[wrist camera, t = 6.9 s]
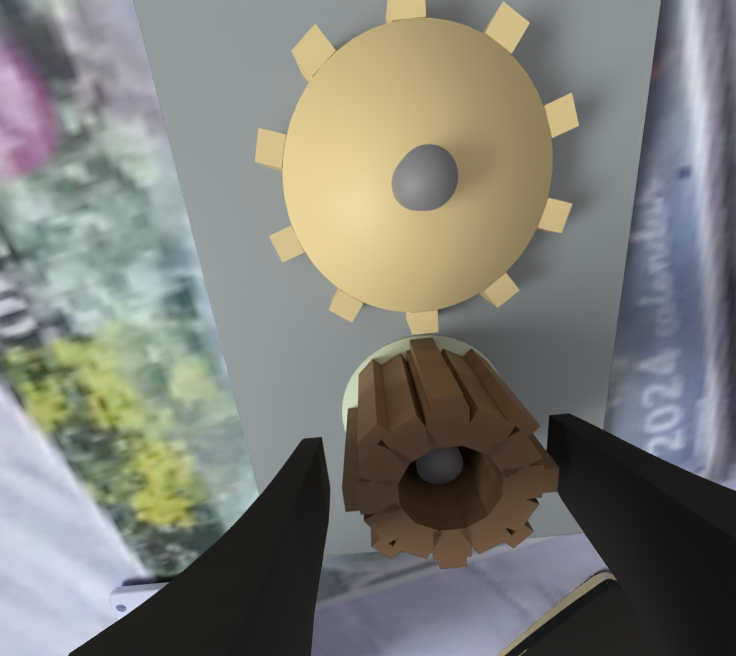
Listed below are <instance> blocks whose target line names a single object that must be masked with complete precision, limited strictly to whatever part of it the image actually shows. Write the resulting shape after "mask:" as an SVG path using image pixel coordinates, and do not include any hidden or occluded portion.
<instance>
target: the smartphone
mask: <svg viewBox="0 0 736 656" xmlns="http://www.w3.org/2000/svg"><path fill="white" fill-rule="evenodd" d="M497 656H660V655H659V653H658V651H657V649H656V647H655V645H654V644H653V642H652V640H651V638H650V636H649V634H648V633H647V631H646V629H645V627H644V626H643V624H642V622H641V621H640V619H639V617H638V615H637V614H636V612H635V610H634V608H633V607H632V605H631V603H630V601H629V600H628V598H627V596H626V594H625V593H624V591H623V589H622V588H621V586H620V585H619V583H618V582H617V580H616V579H615V577H614V575H613V574H612V573H608V572H602V573H599V574H597V575H595V576H593V577H592V578H590V579H589V580H587V581H586V582H585V583H583V584H582V585H581V586H579V587H578V588H576V589H575V590H574V591H573V592H571V593H570V594H569V595H568V596H566V597H565V598H564V599H563V600H562V601H561V602H559V603H558V604H557V605H556V606H555V607H554V608H552V609H551V610H550V611H549V612H548V613H546V614H545V615H544V616H543V617H542V618H541V619H539V620H538V621H537V622H536V623H535V624H533V625H532V626H531V627H530V628H529V629H528V630H526V631H525V632H524V633H523V634H522V635H520V636H519V637H518V638H517V639H516V640H515V641H513V642H512V643H511V644H510V645H509V646H508V647H506V648H505V649H504V650H503V651H502V652H500V653H499V654H498V655H497Z"/></svg>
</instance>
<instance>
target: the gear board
mask: <svg viewBox="0 0 736 656" xmlns="http://www.w3.org/2000/svg"><path fill="white" fill-rule="evenodd" d="M133 2H134V6H135V10H136V14H137V18H138V21H139V25H140V29H141V33H142V37H143V41H144V45H145V49H146V53H147V57H148V61H149V65H150V68H151V72H152V76H153V80H154V84H155V88H156V92H157V96H158V100H159V104H160V108H161V112H162V116H163V119H164V123H165V127H166V131H167V135H168V139H169V143H170V147H171V151H172V155H173V159H174V163H175V166H176V170H177V174H178V178H179V182H180V186H181V190H182V194H183V198H184V202H185V206H186V210H187V213H188V217H189V221H190V225H191V229H192V233H193V237H194V241H195V245H196V249H197V253H198V257H199V261H200V264H201V268H202V272H203V276H204V280H205V284H206V288H207V292H208V296H209V300H210V304H211V308H212V311H213V315H214V319H215V323H216V327H217V331H218V335H219V339H220V343H221V347H222V351H223V355H224V359H225V362H226V366H227V370H228V374H229V378H230V382H231V386H232V390H233V394H234V398H235V402H236V406H237V409H238V413H239V417H240V421H241V425H242V429H243V433H244V437H245V441H246V445H247V449H248V453H249V456H250V460H251V464H252V468H253V472H254V476H255V480H256V484H257V488H258V492H259V496H260V494H261V493H262V492H263V491H264V490H265V488H266V487H267V486H268V485H269V483H270V482H271V481H272V479H273V478H274V477H275V476H276V474H277V473H278V472H279V470H280V469H281V468H282V466H283V465H284V464H285V462H286V461H287V460H288V458H289V457H290V455H291V454H292V453H293V451H294V450H295V448H296V447H297V446H298V444H299V443H300V441H301V440H302V439H305V438H315V437H322V441H323V447H324V452H325V458H326V464H327V470H328V476H329V482H330V487H331V492H330V512H329V524H328V530H327V536H326V543H325V549H324V555H323V556H334V555H345V554H357V553H368V552H379V551H377V550H375V549H374V548H372V547H371V528H370V527H369V526H368V525H367V524H366V523H365V522H364V515H361V514H360V511H351V512H345V505H344V499H343V493H342V480H343V466H344V453H345V439H346V426H347V412H348V408H358V377H359V373H360V372H361V371H362V370H363V369H364V368H365V366H366V365H367V364H368V363H369V362H370V361H371V360H372V358H373V359H374V360H375V361H377V362H378V363H379V364H381V365H382V364H384V363H385V362H387V361H388V360H390V359H391V358H393V357H394V356H396V355H397V354H399V353H400V354H401V355H402V356H403V358H404V359H405V360H406V362H407V357H406V351H408V350H410V340H412V339H422V338H431V337H432V338H433V340H434V342H435V344H436V345H437V347H438V349H439V351H440V353H441V352H442V350H443V348H444V349H446V350H448V351H451V352H453V353H455V354H458V355H460V356H463V357H464V355H465V354H466V353H467V352H468V351H469V350H470V349H471V348H472V349H473V350H474V351H475V352H477V353H478V354H479V355H480V356H481V357H483V358H484V359H485V360H486V361H487V362H488V363H489V364H490V365H491V366H492V368H493V369H494V370H495V371H496V372H497V374H498V375H499V376H500V377H501V379H502V380H503V381H504V382H505V383H506V385H507V386H508V387H509V388H510V389H511V391H512V392H513V393H514V394H515V396H516V397H517V398H518V399H519V400H520V402H521V403H522V404H523V405H524V406H525V408H526V409H527V410H528V411H529V413H530V414H531V415H532V416H533V417H534V419H535V420H536V421H537V422H538V423H539V425H540V427H539V428H538V429H537V430H536V431H535V432H534V433H533V434H534V435H535V437H536V438H537V439H538V441H539V442H540V443H541V444H542V446H543V447H544V448H545V450H547V437H548V424H549V415H555V414H565V413H570V414H572V415H574V416H576V417H579V418H581V419H583V420H585V421H587V422H589V423H591V424H593V425H595V426H597V427H599V428H600V429H602V430H603V427H604V419H605V412H606V404H607V397H608V390H609V382H610V375H611V367H612V360H613V352H614V345H615V338H616V330H617V323H618V315H619V308H620V300H621V293H622V286H623V278H624V271H625V263H626V256H627V248H628V241H629V234H630V226H631V219H632V211H633V204H634V196H635V189H636V182H637V174H638V167H639V159H640V152H641V144H642V137H643V130H644V122H645V115H646V107H647V100H648V92H649V85H650V78H651V70H652V63H653V55H654V48H655V41H656V33H657V26H658V18H659V11H660V3H661V0H133ZM415 463H416V467H417V471H418V474H419V475H420V477H421V478H422V479H423V480H425V481H426V482H429V483H432V484H444V483H448V482H450V481H452V480H454V479H455V478H456V477H457V476H458V475H459V474H460V473H461V471H462V468H463V459H462V456H461V454H460V451H459V449H458V446H457V447H447V448H437V449H433V450H431V451H430V452H428V453H426V454H424V455H423V456H421V457H419V458H418V459H416V460H415ZM536 499H537V501H538V502H539V506H538V507H537V508H536V510H535V511H534V512H533V514H532V515H531V516H530V518H529V519H528V521H529V523H530V525H531V527H532V529H533V531H534V532H533V533H532V534H531V535H530V536H528V537H527V538H535V537H546V536H558V535H569V534H580V533H584V532H583V531H582V529H581V528H580V526H579V525H578V523H577V522H576V520H575V519H574V517H573V516H572V515H571V513H570V512H569V510H568V509H567V507H566V506H565V504H564V503H563V501H562V500H561V498H560V496H559V494H558V492H551V493H543V495H542V498H536Z"/></svg>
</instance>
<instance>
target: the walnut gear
mask: <svg viewBox="0 0 736 656" xmlns="http://www.w3.org/2000/svg"><path fill="white" fill-rule="evenodd" d="M406 357H407V362H406V360H405V359H404V358H403V356H402V355H401V354H400V353H399V354H397V355H396V356H394V357H393V358H391V359H390V360H388V361H387V362H385V363H384V364H382V365H381V364H379V363H378V362H377V361H375V360H374V359H373V358H372V360H371V361H370V362H369V363H368V364H367V365H366V366H365V368H364V369H363V370H362V371H361V372H360V373H359V377H358V408H348V412H347V426H346V439H345V453H344V466H343V480H342V493H343V499H344V505H345V512H351V511H360V514H361V515H364V522H365V523H366V524H367V525H368V526H369V527H370V528H371V547H372V548H374V549H375V550H377V551H379V552H381V553H382V554H384V555H386V556H387V557H389V558H391V559H394V558H395V557H396V556H397V555H398V554H399V553H400V552H401V551H403V552H406V553H409V554H412V555H415V556H419V557H422V558H425V559H427V558H428V556H429V555H430V553H431V552H432V551H433V556H434V560H438V563H439V567H440V569H447V568H458V567H467V557H470V556H472V546H473V547H474V548H475V550H476V551H477V552H478V553H479V554H481V553H483V552H485V551H487V550H488V549H490V548H492V547H494V546H496V545H498V544H500V543H502V542H505V543H506V544H508V545H509V546H511V547H512V548H515V547H516V546H517V545H518V544H520V543H521V542H522V541H523V540H525V539H526V538H527V537H528V536H530V535H531V534H532V533H533V532H534V531H533V529H532V527H531V525H530V523H529V521H528V519H529V518H530V516H531V515H532V514H533V512H534V511H535V510H536V508H537V507H538V506H539V502H538V501H537V499H536V498H542V495H543V493H551V492H557V491H558V479H559V467H558V465H557V464H556V463H555V462H554V460H553V459H552V458H551V456H550V455H549V454H548V452H547V451H546V450H545V448H544V447H543V446H542V444H541V443H540V442H539V441H538V439H537V438H536V437H535V435H534V434H533V433H534V432H535V431H536V430H537V429H538V428H539V427H540V425H539V423H538V422H537V421H536V420H535V419H534V417H533V416H532V415H531V414H530V413H529V411H528V410H527V409H526V408H525V406H524V405H523V404H522V403H521V402H520V400H519V399H518V398H517V397H516V396H515V394H514V393H513V392H512V391H511V389H510V388H509V387H508V386H507V385H506V383H505V382H504V381H503V380H502V379H501V377H500V376H499V375H498V374H497V372H496V371H495V370H494V369H493V368H492V366H491V365H490V364H489V363H488V362H487V361H486V360H485V359H484V358H483V357H481V356H480V355H479V354H478V353H477V352H475V351H474V350H473V349H472V348H471V349H470V350H469V351H468V352H467V353H466V354H465V355H464V357H463V356H460V355H458V354H455V353H453V352H451V351H448V350H446V349H444V348H443V350H442V352H441V353H440V351H439V349H438V347H437V345H436V344H435V342H434V340H433V338H432V337H431V338H422V339H412V340H410V350H408V351H406ZM457 446H458V449H459V451H460V454H461V456H462V459H463V468H462V471H461V473H460V474H459V475H458V476H457V477H456V478H455V479H454V480H452V481H450V482H448V483H444V484H432V483H429V482H426V481H425V480H423V479H422V478H421V477H420V475H419V474H418V471H417V467H416V463H415V460H416V459H418V458H419V457H421V456H423V455H424V454H426V453H428V452H430V451H431V450H433V449H437V448H447V447H457Z"/></svg>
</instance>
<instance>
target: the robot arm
mask: <svg viewBox="0 0 736 656" xmlns="http://www.w3.org/2000/svg"><path fill="white" fill-rule="evenodd" d="M546 451H547V452H548V454H549V455H550V456H551V458H552V459H553V460H554V462H555V463H556V464H557V465H558V467H559V479H558V491H557V492H558V494H559V496H560V498H561V500H562V501H563V503H564V504H565V506H566V507H567V509H568V510H569V512H570V513H571V515H572V516H573V517H574V519H575V520H576V522H577V523H578V525H579V526H580V528H581V529H582V531H583V532H584V533H585V535H586V536H587V538H588V539H589V541H590V542H591V544H592V545H593V546H594V548H595V549H596V551H597V552H598V554H599V555H600V557H601V558H602V559H603V561H604V562H605V564H606V565H607V567H608V568H609V570H610V571H611V572H612V574H613V575H614V577H615V579H616V580H617V582H618V583H619V585H620V586H621V588H622V589H623V591H624V593H625V594H626V596H627V598H628V600H629V601H630V603H631V605H632V607H633V608H634V610H635V612H636V614H637V615H638V617H639V619H640V621H641V622H642V624H643V626H644V627H645V629H646V631H647V633H648V634H649V636H650V638H651V640H652V642H653V644H654V645H655V647H656V649H657V651H658V653H659V655H660V656H736V491H734V490H732V489H729V488H727V487H724V486H722V485H719V484H717V483H714V482H712V481H709V480H707V479H705V478H702V477H700V476H698V475H695V474H693V473H691V472H688V471H686V470H684V469H682V468H680V467H677V466H675V465H673V464H671V463H669V462H667V461H664V460H662V459H660V458H658V457H656V456H654V455H652V454H650V453H648V452H646V451H644V450H642V449H640V448H638V447H636V446H634V445H632V444H630V443H628V442H626V441H624V440H622V439H620V438H618V437H616V436H614V435H612V434H610V433H608V432H606V431H604V430H602V429H600V428H599V427H597V426H595V425H593V424H591V423H589V422H587V421H585V420H583V419H581V418H579V417H576V416H574V415H572V414H570V413H565V414H555V415H549V424H548V437H547V450H546ZM330 492H331V487H330V482H329V476H328V470H327V464H326V458H325V452H324V447H323V441H322V437H315V438H305V439H302V440H301V441H300V443H299V444H298V446H297V447H296V448H295V450H294V451H293V453H292V454H291V455H290V457H289V458H288V460H287V461H286V462H285V464H284V465H283V466H282V468H281V469H280V470H279V472H278V473H277V474H276V476H275V477H274V478H273V479H272V481H271V482H270V483H269V485H268V486H267V487H266V488H265V490H264V491H263V492H262V493H261V494H260V496H259V497H258V498H257V499H256V500H255V501H254V503H253V504H252V505H251V506H250V507H249V508H248V510H247V511H246V512H245V513H244V514H243V515H242V516H241V517H240V518H239V520H238V521H237V522H236V523H235V524H234V525H233V526H232V527H231V528H230V529H229V530H228V531H227V532H226V533H225V534H224V535H223V536H222V537H221V538H220V539H219V540H218V541H217V542H216V543H215V544H213V545H212V546H211V547H210V548H209V549H208V550H207V551H205V552H204V553H203V554H202V555H201V556H200V557H199V558H198V559H196V560H195V561H194V562H193V563H192V564H191V565H190V566H188V567H187V568H186V569H185V570H184V571H183V572H181V573H180V574H179V575H178V576H177V577H175V578H174V579H173V580H172V581H170V582H166V583H155V584H144V585H132V586H121V587H117V588H115V589H113V591H112V592H111V594H110V595H109V597H108V600H109V603H110V605H111V607H112V609H113V611H114V613H115V615H116V617H117V619H118V621H117V622H115V623H114V624H112V625H111V626H109V627H108V628H106V629H105V630H103V631H102V632H100V633H99V634H98V635H96V636H95V637H93V638H92V639H90V640H89V641H87V642H86V643H84V644H83V645H81V646H80V647H78V648H77V649H75V650H74V651H72V652H71V653H70V654H69V655H68V656H311V646H312V633H313V621H314V612H315V604H316V597H317V591H318V585H319V579H320V573H321V567H322V561H323V555H324V549H325V543H326V536H327V530H328V524H329V512H330Z"/></svg>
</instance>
